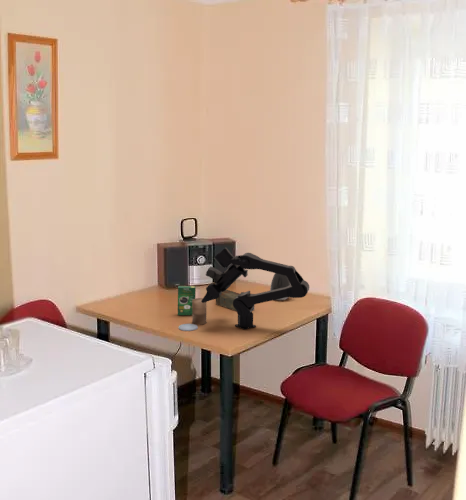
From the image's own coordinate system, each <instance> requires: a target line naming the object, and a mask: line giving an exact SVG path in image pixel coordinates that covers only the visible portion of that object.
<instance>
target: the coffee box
mask: <svg viewBox="0 0 466 500" xmlns="http://www.w3.org/2000/svg"><path fill="white" fill-rule="evenodd" d="M193 299H196V286H194V285H178V287H177V316H192V300H193Z"/></svg>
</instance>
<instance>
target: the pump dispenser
mask: <svg viewBox="0 0 466 500" xmlns="http://www.w3.org/2000/svg"><path fill="white" fill-rule="evenodd" d="M270 283H271V284H270V288H269V289H270V290H269V291H271V290H275V289H280V288H284V287H287V286H289V285H291V284H290V282H289V280H288V278H287V276H285V275H281V274H277V273H273V277H272V278H271V282H270ZM287 299H289V297H286V298H281V299H277V300H276V301H285V300H287Z"/></svg>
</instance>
